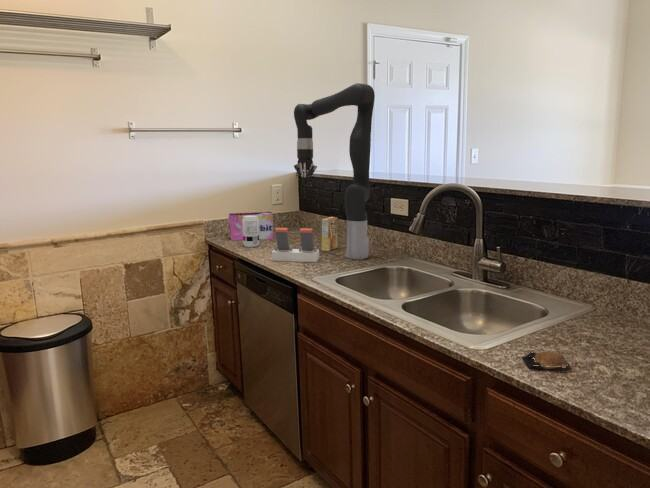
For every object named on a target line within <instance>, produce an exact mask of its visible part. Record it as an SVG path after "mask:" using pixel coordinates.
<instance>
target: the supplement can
mask: <svg viewBox="0 0 650 488" xmlns="http://www.w3.org/2000/svg"><path fill="white" fill-rule="evenodd" d="M242 232H243V240H242V246H243V247H246V248H256V247H258V246H259V245H260V239H259V219H258V217H257V216H256V215H246V216H243V218H242Z"/></svg>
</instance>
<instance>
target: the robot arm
mask: <svg viewBox="0 0 650 488" xmlns="http://www.w3.org/2000/svg"><path fill="white" fill-rule="evenodd" d="M375 97H376V96H375V90H374V88H373V87H372V86H371V85H369V84H365V83H359V82H357V83H354V84H352V85H350V86H348V87H346V88H344V89H343V90H340V91H338V92H337V93H334V94H331V95H328V96H325V97H322V98H319V99H316V100H314V101H312V103H310V104H309V103H308V104H306V103H298V104H297V105H295V107H294V109H293V118H294V122H295V126H296V129H297V136H296V137H297V141H296V155H297V156H296V157H297V162H296V164H294V165H293V168H294V169H295V171H296V173H297V174H298V176H299V177H301V184H302V185H303V186H308V185H309V182H310V181H309V179H310V177H313V175H314V173H315V171H316V170H317V168H318V166H317V165H315V164H314V161H313V158H314V141H313V126H311V125H309V124H308V121H310V120H314V119H316V118H319V117H320V116H324V115H327V114H330V113H333V112H335V111H336V110H338V109H340V108H342V107H349V106H355V107H357V115H356V122H355V124H354V126H353V128H352V129H351V130H352V131H351V133H350V136H349V149H348V150H349V151H348V152H349V158H350V162H351V166H352V173H353V177H352V178H353V179H352V184H351V185H349V186H348V187H347V188H346V190H345V192H344V213H345V215H346V237H345V238H346V243H345V244H346V247H345V248H346V249H345V250H346V251H345V252H346V253H345V254H346V256H345V257H346V258H347V259H348V260H360V261H361V260H364V259H365V260H366V259H367V258H369V257H370V256H369V252H370V250H369V248H370V246H369V245H370V243H369V242H370V237H369V236H368V213H367V212H366V209H365V207H366V206H365V205H366V204H365V203H366V202H368V200H369V199H370V195H371V186H370V166H371V165H370V164H371V150H372V149H371V148H372V147H371V146H372V144H371V143H372V124H373V123H372V122H373V121H372V120H373V112H374V104H375V100H376V99H375Z"/></svg>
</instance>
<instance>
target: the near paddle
mask: <svg viewBox="0 0 650 488" xmlns="http://www.w3.org/2000/svg"><path fill="white" fill-rule="evenodd" d="M313 232H314V231H313V228H309V227H308V228H306V227H304V228H303V227H302V228H300V229H299V233H300V239H301V240H300V242H301V243H300V244H301V247H302V251H314V247H315V246H314V236H313V234H314V233H313Z"/></svg>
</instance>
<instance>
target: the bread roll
mask: <svg viewBox="0 0 650 488" xmlns="http://www.w3.org/2000/svg"><path fill="white" fill-rule="evenodd" d="M529 356H530V357H529ZM533 357H534V358H535V361H536V362H535V361H534V359H532V358H533ZM564 358H565V357H564V356H563V355H561V354H560V353H559V352H554V351H541V352H534V351H533V352H529V353H528V354H527V355H526V356H521V359H522V361H523V363H524V364H525V366H526V368H528V370H530V371H533V372H541V373H543V372H546V373H574V372H576V369H575V368H574V367H573V366H572V365H571V364H570V363H569V362H568V361H567V359H566V358H565V359H566V360H565V359H564ZM567 363H568V366H566V368H562V367H546V366H562V365H566V364H567ZM533 365H539V366H533ZM541 365H545V366H541Z"/></svg>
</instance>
